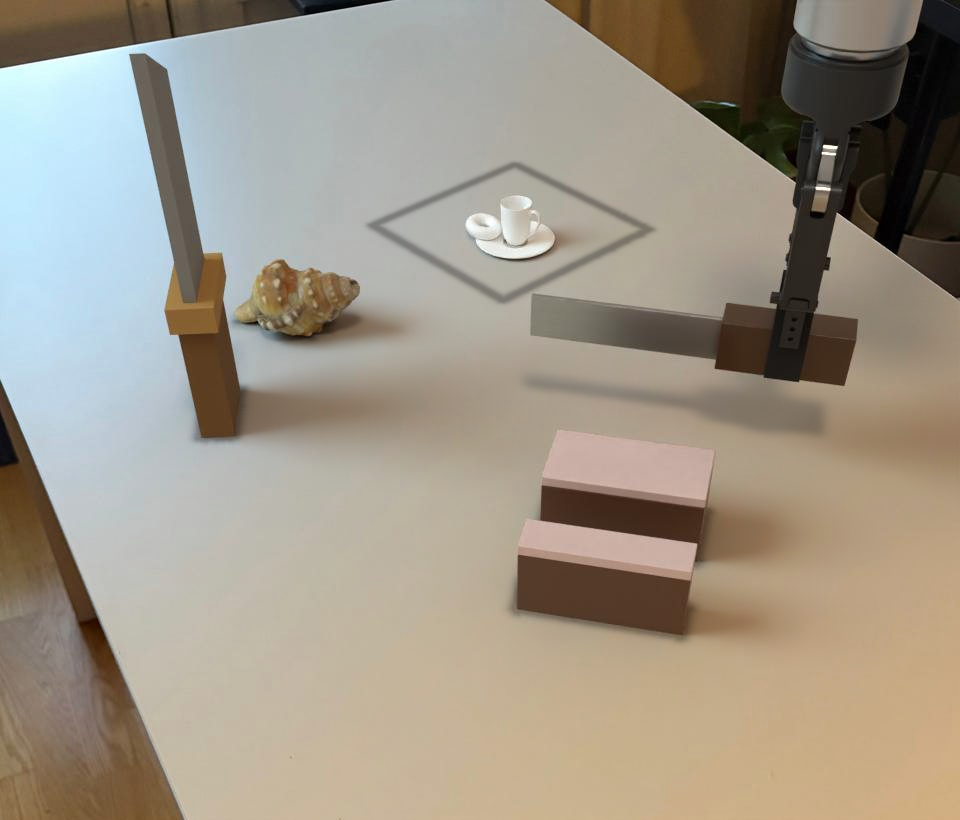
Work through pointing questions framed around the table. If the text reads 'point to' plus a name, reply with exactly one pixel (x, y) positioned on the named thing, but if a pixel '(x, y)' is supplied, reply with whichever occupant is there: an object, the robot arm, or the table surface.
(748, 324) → the cake knife
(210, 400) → the knife
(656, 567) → the cake slice
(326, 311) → the seashell
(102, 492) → the table surface
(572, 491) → the cake
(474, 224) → the teacup and saucer
